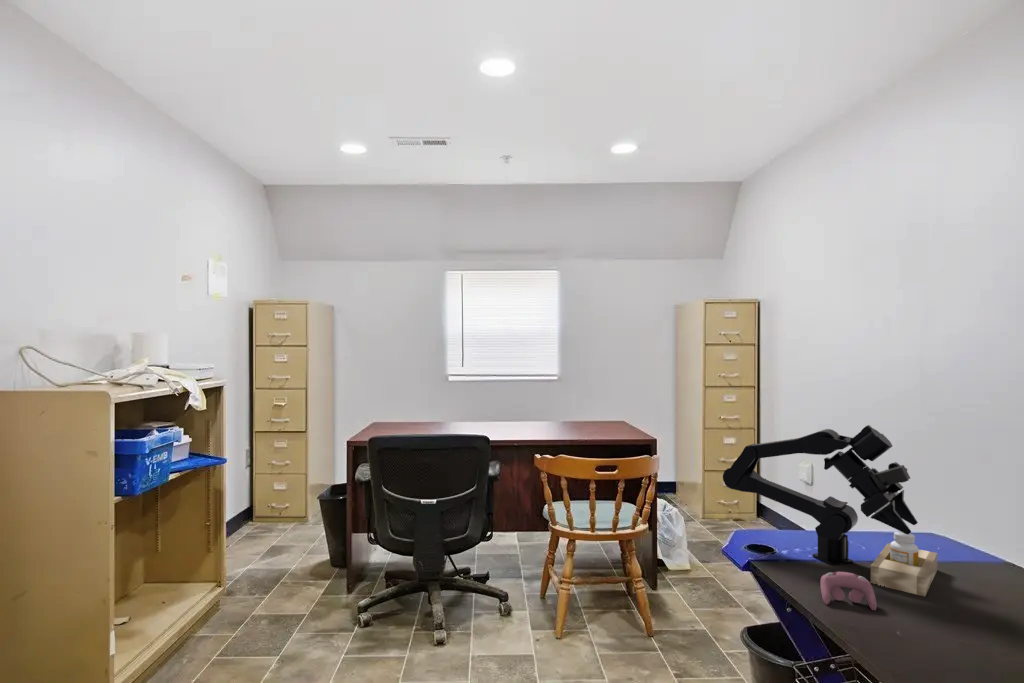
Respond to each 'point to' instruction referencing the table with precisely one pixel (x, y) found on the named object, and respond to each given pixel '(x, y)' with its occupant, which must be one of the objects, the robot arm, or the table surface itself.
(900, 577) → the holder block
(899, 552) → the supplement bottle
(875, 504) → the robot arm
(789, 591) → the table surface
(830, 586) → the video game controller
